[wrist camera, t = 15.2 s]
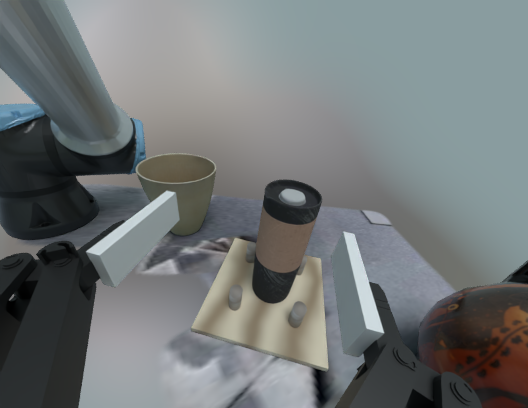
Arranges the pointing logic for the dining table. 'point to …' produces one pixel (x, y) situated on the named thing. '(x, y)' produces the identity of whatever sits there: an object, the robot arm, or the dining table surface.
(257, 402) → the dining table surface
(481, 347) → the amphora vase
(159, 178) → the plant pot
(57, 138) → the robot arm
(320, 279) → the post base
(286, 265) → the travel mug
